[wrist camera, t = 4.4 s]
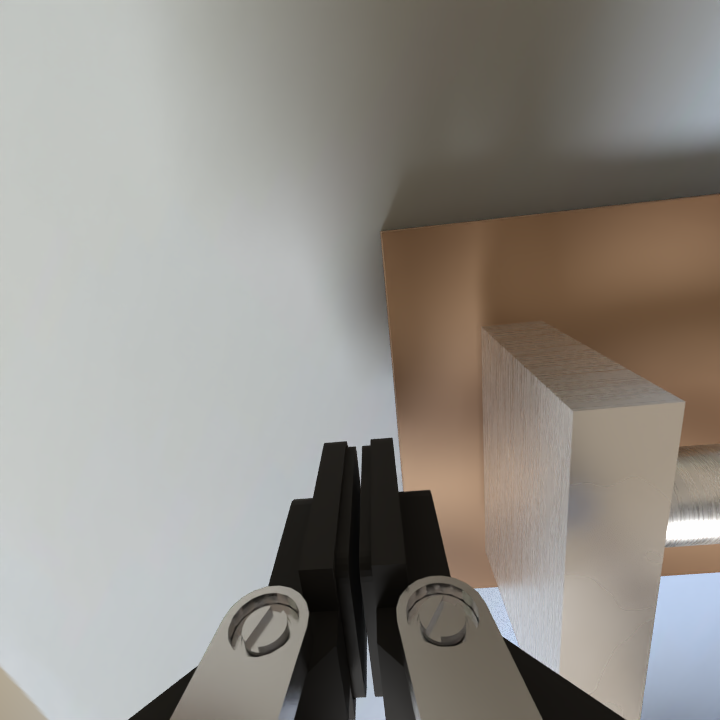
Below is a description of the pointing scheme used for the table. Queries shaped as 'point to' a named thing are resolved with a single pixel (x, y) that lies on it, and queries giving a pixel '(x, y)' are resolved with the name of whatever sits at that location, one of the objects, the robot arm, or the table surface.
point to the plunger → (586, 504)
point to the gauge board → (560, 310)
